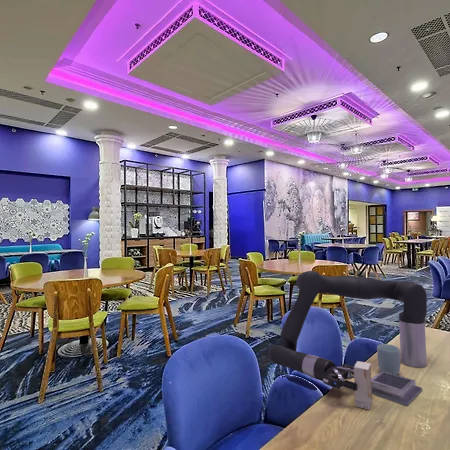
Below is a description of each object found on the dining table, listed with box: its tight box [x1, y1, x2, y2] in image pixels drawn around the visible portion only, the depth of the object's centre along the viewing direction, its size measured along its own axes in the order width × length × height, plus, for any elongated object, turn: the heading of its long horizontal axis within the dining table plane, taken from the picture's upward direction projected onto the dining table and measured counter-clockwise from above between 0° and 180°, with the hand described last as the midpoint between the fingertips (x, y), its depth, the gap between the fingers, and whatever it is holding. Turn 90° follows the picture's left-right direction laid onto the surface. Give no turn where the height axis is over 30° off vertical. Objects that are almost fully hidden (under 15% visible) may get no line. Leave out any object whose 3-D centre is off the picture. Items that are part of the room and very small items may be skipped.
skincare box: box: [353, 360, 373, 410], centre depth 102 cm, size 6×4×12 cm
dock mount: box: [371, 371, 423, 407], centre depth 110 cm, size 14×14×4 cm
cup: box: [376, 343, 401, 375], centre depth 123 cm, size 8×8×10 cm
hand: (363, 382), depth 102 cm, fingers open, 8 cm apart
